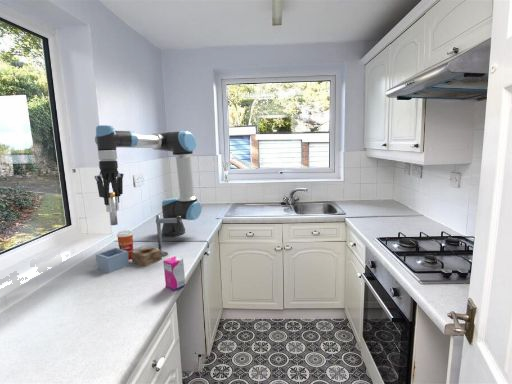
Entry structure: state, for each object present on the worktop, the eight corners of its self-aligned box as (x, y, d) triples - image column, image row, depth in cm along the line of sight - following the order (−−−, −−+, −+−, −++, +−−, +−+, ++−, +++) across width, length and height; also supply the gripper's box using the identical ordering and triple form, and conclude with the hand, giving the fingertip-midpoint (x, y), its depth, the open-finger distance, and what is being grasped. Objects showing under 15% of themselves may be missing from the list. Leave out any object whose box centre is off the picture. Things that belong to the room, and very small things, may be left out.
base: (161, 252, 158) (161, 250, 158) (168, 254, 155) (167, 252, 155) (153, 255, 154) (153, 253, 154) (160, 257, 151) (160, 255, 151)
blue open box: (117, 261, 148) (115, 247, 147) (129, 265, 143) (127, 251, 141) (97, 268, 140) (95, 254, 139) (109, 272, 134) (107, 258, 133)
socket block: (149, 255, 154) (148, 246, 154) (161, 259, 149) (161, 249, 148) (132, 262, 146) (131, 252, 145) (144, 266, 141) (144, 256, 140)
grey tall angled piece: (158, 253, 153) (155, 216, 150) (159, 251, 155) (156, 214, 152) (182, 252, 153) (180, 215, 150) (183, 250, 156) (181, 214, 153)
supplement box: (177, 281, 124) (175, 255, 122) (185, 285, 120) (184, 258, 118) (165, 286, 120) (163, 260, 118) (173, 291, 116) (171, 263, 114)
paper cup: (117, 262, 146) (115, 235, 144) (120, 256, 154) (117, 230, 152) (134, 260, 148) (132, 233, 146) (136, 255, 156) (134, 229, 154)
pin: (119, 224, 139) (116, 192, 137) (113, 225, 137) (110, 193, 134) (114, 223, 141) (111, 192, 138) (109, 225, 138) (106, 193, 136)
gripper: (117, 159, 143) (122, 207, 146) (85, 161, 129) (91, 213, 132) (128, 159, 139) (132, 208, 143) (96, 161, 125) (102, 215, 129)
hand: (112, 210), depth 138 cm, fingers closed on pin, 3 cm apart
